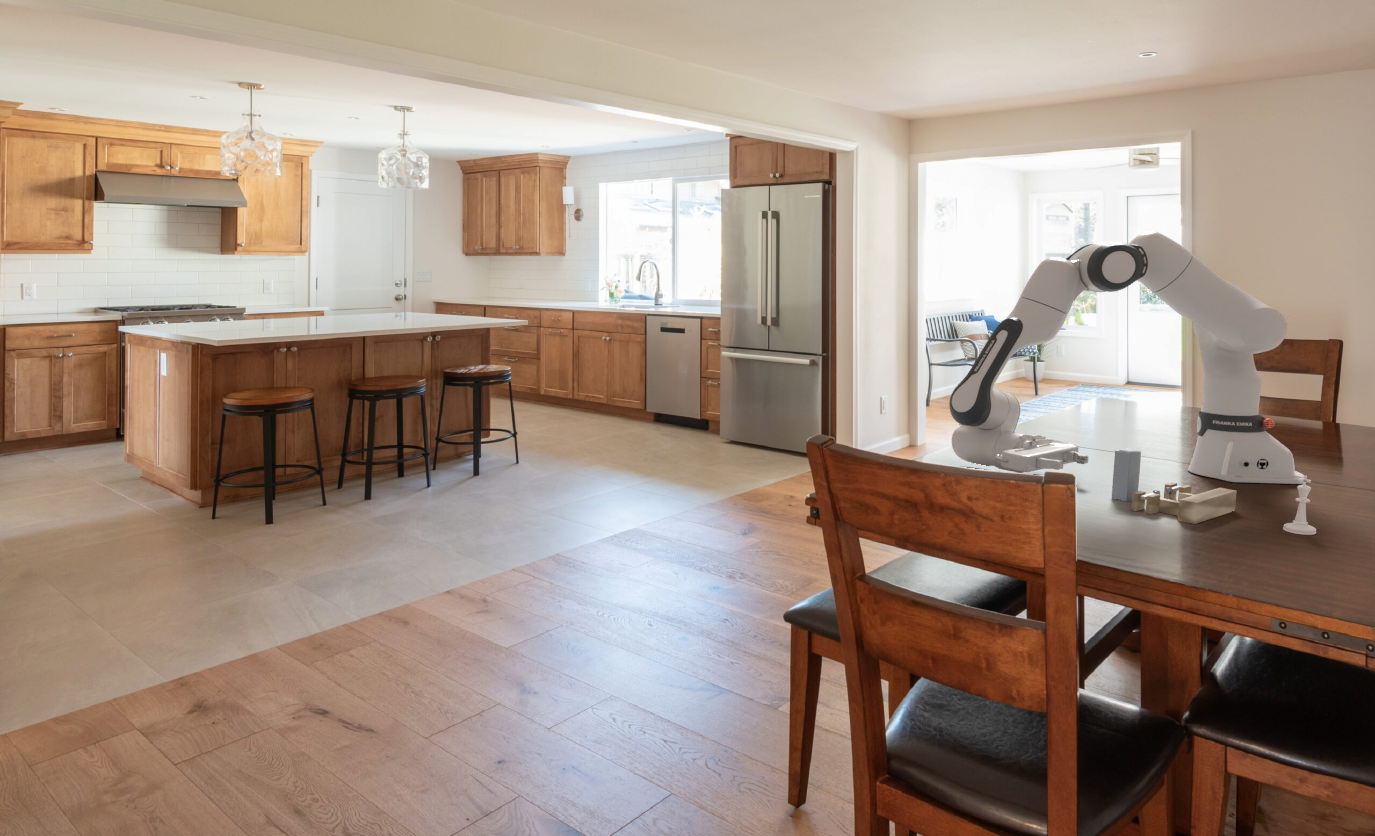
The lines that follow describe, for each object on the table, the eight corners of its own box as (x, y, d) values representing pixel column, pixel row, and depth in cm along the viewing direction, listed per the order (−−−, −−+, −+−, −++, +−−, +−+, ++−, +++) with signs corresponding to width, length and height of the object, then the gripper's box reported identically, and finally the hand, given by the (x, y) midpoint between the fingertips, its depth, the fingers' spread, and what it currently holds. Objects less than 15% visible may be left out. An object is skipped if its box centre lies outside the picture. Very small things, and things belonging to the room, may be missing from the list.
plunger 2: (1163, 493, 174) (1164, 487, 174) (1177, 489, 177) (1178, 483, 177) (1169, 494, 173) (1170, 488, 173) (1183, 490, 177) (1184, 484, 176)
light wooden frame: (1130, 510, 170) (1131, 490, 169) (1171, 498, 179) (1173, 479, 179) (1194, 524, 161) (1196, 502, 160) (1234, 510, 170) (1236, 490, 169)
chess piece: (1282, 525, 160) (1288, 471, 158) (1316, 529, 157) (1322, 475, 155) (1282, 532, 156) (1288, 476, 154) (1316, 536, 153) (1322, 480, 151)
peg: (1111, 498, 179) (1115, 450, 178) (1121, 495, 182) (1125, 448, 180) (1130, 502, 176) (1134, 453, 174) (1141, 499, 178) (1145, 451, 177)
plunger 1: (1139, 500, 169) (1140, 494, 169) (1154, 496, 172) (1155, 490, 172) (1145, 501, 168) (1146, 495, 168) (1160, 497, 171) (1161, 491, 171)
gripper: (989, 443, 192) (1046, 454, 181) (1043, 434, 204) (1101, 443, 193) (987, 472, 193) (1045, 483, 182) (1042, 460, 205) (1099, 471, 194)
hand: (1074, 462), depth 187 cm, fingers open, 8 cm apart
